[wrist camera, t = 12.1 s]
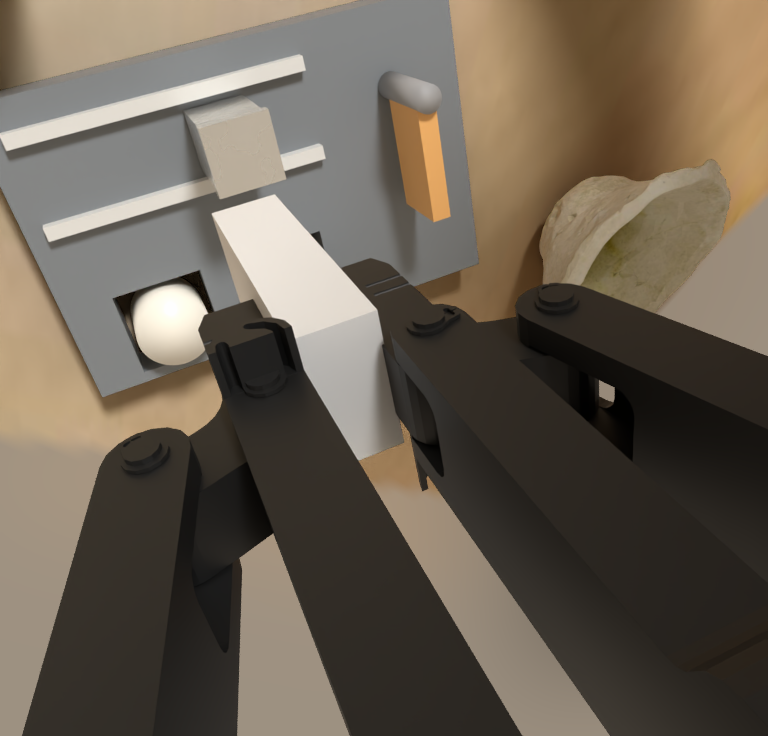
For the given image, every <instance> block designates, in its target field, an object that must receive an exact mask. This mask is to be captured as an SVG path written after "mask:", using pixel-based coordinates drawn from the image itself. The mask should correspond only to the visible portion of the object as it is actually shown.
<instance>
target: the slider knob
mask: <svg viewBox="0 0 768 736" xmlns="http://www.w3.org/2000/svg"><path fill="white" fill-rule="evenodd" d="M183 112H184V115H185V119H186V122H187V125H188V128H189V131H190V134H191V137H192V140H193V143H194V146H195V150H196V153H197V156H198V159H199V162H200V165H201V168H202V171H203V172H204V173H205V175H206V176H207V178H208V179H209V180H210V182H211V183H212V184H213V186H214V187H215V189H216V193H217V196H218V197H219V199H223V198H226V197H230V196H233V195H236V194H240V193H243V192H246V191H249V190H253V189H256V188H259V187H263V186H266V185H269V184H272V183H276V182H279V181H282V180H286V175H285V171H284V168H283V164H282V160H281V156H280V152H279V148H278V144H277V140H276V137H275V133H274V129H273V125H272V121H271V117H270V113H269V110H268V109H267V108H266V107H263V108H260V107H259V106H257V105H256V104H255V103H253V102H252V101H250V100H249V99H247V98H246V97H245V96H243V95H238V96H235V97H231V98H227V99H224V100H220V101H216V102H213V103H209V104H205V105H201V106H198V107H194V108H190V109H187V110H183Z"/></svg>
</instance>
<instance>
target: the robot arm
mask: <svg viewBox="0 0 768 736" xmlns="http://www.w3.org/2000/svg"><path fill="white" fill-rule="evenodd" d="M211 214H212V217H213V220H214V223H215V226H216V229H217V232H218V235H219V238H220V241H221V245H222V248H223V251H224V254H225V257H226V260H227V263H228V266H229V269H230V272H231V276H232V279H233V282H234V285H235V288H236V291H237V294H238V297H239V300H240V303H239V304H236V305H233V306H230V307H227V308H224V309H221V310H218V311H215V312H212V313H209V314H206V315H204V317H203V319H202V321H201V324H200V326H199V329H198V331H199V334H200V337H201V340H202V342H203V345H204V348H205V350H206V353H207V356H208V359H209V361H210V364H211V367H212V369H213V372H214V375H215V378H216V380H217V383H218V386H219V388H220V391H221V394H222V400H223V401H222V404H221V408H220V409H219V411H218V413H217V414H216V416H215V417H214V418H213V419H212V420H211V421H210V422H209V423H208V424H207V425H205V426H204V427H203V428H201V429H200V430H198V431H197V432H195V433H194V434H192V435H190V436H189V437H188V436H187V435H186V434H185V433H183V432H182V431H181V430H177V429H172V428H157V429H150V430H147V431H144V432H141V433H137V434H135V435H133V436H131V437H130V438H127V439H126V440H124V441H123V442H121V443H119V444H118V445H117V446H116V447H115V448H114V449H112V450H111V451H110V452H109V453H108V454H107V455H106V457H105V458H104V460H103V462H102V464H101V466H100V468H99V471H98V474H97V478H96V481H95V485H94V488H93V492H92V495H91V499H90V502H89V506H88V509H87V513H86V516H85V520H84V523H83V526H82V530H81V534H80V537H79V540H78V544H77V547H76V551H75V554H74V558H73V561H72V565H71V568H70V572H69V575H68V578H67V582H66V585H65V589H64V592H63V596H62V600H61V603H60V606H59V610H58V613H57V617H56V620H55V624H54V627H53V630H52V634H51V637H50V641H49V644H48V648H47V651H46V655H45V658H44V661H43V665H42V668H41V672H40V675H39V679H38V682H37V686H36V689H35V693H34V696H33V699H32V703H31V706H30V710H29V714H28V717H27V720H26V724H25V727H24V731H23V734H22V736H237V717H238V685H239V684H238V683H239V652H240V650H239V649H240V617H241V586H242V568H241V564H240V559H239V558H240V557H241V556H243V555H244V554H245V553H247V552H248V551H249V550H251V549H252V548H254V547H255V546H256V545H258V544H259V543H260V542H262V541H263V540H264V539H266V538H267V537H269V536H270V535H271V534H274V536H275V539H276V542H277V544H278V547H279V549H280V552H281V555H282V557H283V560H284V563H285V565H286V568H287V571H288V573H289V576H290V579H291V581H292V584H293V587H294V589H295V592H296V595H297V597H298V600H299V603H300V605H301V608H302V610H303V613H304V616H305V618H306V621H307V624H308V626H309V629H310V631H311V634H312V637H313V639H314V642H315V645H316V648H317V650H318V653H319V655H320V658H321V661H322V664H323V666H324V669H325V671H326V674H327V677H328V679H329V682H330V685H331V687H332V690H333V693H334V695H335V698H336V701H337V703H338V706H339V709H340V711H341V714H342V716H343V719H344V722H345V724H346V727H347V730H348V732H349V735H350V736H522V735H521V733H520V731H519V730H518V728H517V726H516V725H515V723H514V721H513V720H512V718H511V716H510V715H509V713H508V711H507V710H506V708H505V706H504V705H503V703H502V701H501V699H500V698H499V696H498V695H497V693H496V691H495V689H494V688H493V686H492V684H491V683H490V681H489V679H488V678H487V676H486V674H485V673H484V671H483V669H482V668H481V666H480V664H479V663H478V661H477V659H476V658H475V656H474V654H473V653H472V651H471V649H470V647H469V646H468V644H467V642H466V641H465V639H464V637H463V636H462V634H461V632H460V631H459V629H458V627H457V626H456V624H455V622H454V621H453V619H452V617H451V616H450V614H449V612H448V611H447V609H446V607H445V606H444V604H443V602H442V600H441V599H440V597H439V596H438V594H437V592H436V590H435V589H434V587H433V585H432V584H431V582H430V580H429V579H428V577H427V575H426V574H425V572H424V570H423V569H422V567H421V565H420V564H419V562H418V560H417V559H416V557H415V555H414V554H413V552H412V550H411V549H410V547H409V545H408V543H407V542H406V540H405V538H404V537H403V535H402V533H401V532H400V530H399V528H398V527H397V525H396V523H395V522H394V520H393V518H392V517H391V515H390V513H389V512H388V510H387V508H386V506H385V505H384V503H383V501H382V500H381V498H380V496H379V495H378V493H377V491H376V490H375V488H374V486H373V485H372V483H371V481H370V480H369V478H368V476H367V475H366V473H365V471H364V470H363V468H362V466H361V465H360V463H359V460H361V459H364V458H366V457H369V456H371V455H374V454H377V453H379V452H382V451H384V450H387V449H389V448H392V447H394V446H397V445H399V444H402V443H404V439H403V434H402V429H401V424H400V420H401V421H402V423H403V424H404V425H405V427H406V428H407V429H408V431H409V432H410V436H411V442H412V447H413V452H414V457H415V462H416V467H417V472H418V477H419V482H420V485H421V488H422V491H424V490H427V489H428V485H427V480H426V478H427V476H429V478H430V479H431V481H432V482H433V483H434V485H435V486H436V488H437V489H438V491H439V492H440V493H441V495H442V496H443V498H444V499H445V501H446V502H447V503H448V505H449V506H450V508H451V509H452V510H453V512H454V513H455V515H456V516H457V518H458V519H459V521H460V522H461V523H462V525H463V526H464V528H465V529H466V531H467V532H468V533H469V535H470V536H471V538H472V539H473V541H474V542H475V543H476V545H477V546H478V548H479V549H480V550H481V552H482V553H483V555H484V556H485V558H486V559H487V561H488V562H489V563H490V565H491V566H492V568H493V569H494V571H495V572H496V573H497V575H498V576H499V578H500V579H501V581H502V582H503V583H504V585H505V586H506V588H507V589H508V591H509V592H510V593H511V595H512V596H513V598H514V599H515V601H516V602H517V603H518V605H519V606H520V608H521V609H522V611H523V612H524V613H525V615H526V616H527V618H528V619H529V621H530V622H531V623H532V625H533V626H534V628H535V629H536V631H537V632H538V633H539V635H540V636H541V638H542V639H543V640H544V642H545V643H546V645H547V646H548V648H549V649H550V651H551V652H552V653H553V655H554V656H555V658H556V659H557V661H558V662H559V663H560V665H561V666H562V668H563V669H564V671H565V672H566V673H567V675H568V676H569V678H570V679H571V681H572V682H573V683H574V685H575V686H576V688H577V689H578V691H579V692H580V693H581V695H582V696H583V698H584V699H585V701H586V702H587V703H588V705H589V706H590V708H591V709H592V711H593V712H594V713H595V715H596V716H597V718H598V719H599V721H600V722H601V723H602V725H603V726H604V728H605V729H606V730H607V732H608V733H609V735H610V736H768V356H766V355H763V354H760V353H758V352H755V351H752V350H750V349H747V348H745V347H742V346H739V345H737V344H734V343H731V342H729V341H726V340H723V339H721V338H718V337H716V336H713V335H710V334H708V333H705V332H702V331H700V330H697V329H695V328H692V327H689V326H687V325H684V324H681V323H679V322H676V321H673V320H671V319H668V318H666V317H663V316H660V315H658V314H655V313H652V312H650V311H647V310H644V309H642V308H639V307H637V306H634V305H631V304H629V303H626V302H623V301H621V300H618V299H615V298H613V297H610V296H608V295H605V294H602V293H600V292H597V291H594V290H592V289H589V288H586V287H583V286H579V285H575V284H570V283H549V284H544V285H540V286H538V287H535V288H533V289H530V290H528V291H526V292H525V293H524V294H522V295H521V296H520V297H519V298H518V300H517V302H516V305H515V308H516V317H514V318H508V319H502V320H496V321H489V322H476V321H475V320H474V319H473V318H471V317H470V316H469V315H468V314H467V313H466V312H465V311H463V310H461V309H459V308H457V307H455V306H450V305H444V304H435V305H432V304H431V303H430V302H429V301H428V300H427V299H426V298H425V297H424V296H423V295H422V294H421V293H420V292H419V291H418V290H417V289H415V288H414V287H413V286H412V285H411V284H409V282H408V281H407V280H406V279H405V278H404V277H403V276H400V273H399V272H398V271H396V270H395V269H394V268H393V267H392V266H391V265H390V264H389V263H385V262H382V261H379V260H376V259H373V258H369V259H366V260H363V261H360V262H357V263H354V264H351V265H348V266H345V267H342V268H340V267H339V266H338V265H337V264H336V263H335V262H334V261H333V259H332V258H331V257H330V256H329V255H328V254H327V253H326V252H325V250H324V249H323V248H322V247H321V246H320V245H319V244H318V243H317V241H316V240H315V239H314V238H313V237H312V236H311V235H310V234H309V232H308V231H307V230H306V229H305V228H304V227H303V226H302V225H301V223H300V222H299V221H298V220H297V219H296V218H295V217H294V216H293V214H292V213H291V212H290V211H289V210H288V209H287V208H286V207H285V205H284V204H283V203H282V202H281V201H280V200H279V199H278V198H277V196H276V195H275V194H274V195H271V196H268V197H264V198H261V199H258V200H254V201H251V202H248V203H244V204H241V205H238V206H234V207H231V208H228V209H224V210H221V211H218V212H214V213H211ZM599 380H600V381H602V382H604V383H607V384H609V385H611V386H613V387H615V399H614V402H611V401H607V400H605V399H603V398H601V397H599Z"/></svg>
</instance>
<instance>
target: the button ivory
mask: <svg viewBox="0 0 768 736" xmlns="http://www.w3.org/2000/svg"><path fill="white" fill-rule="evenodd" d="M130 312H131V317H132V321H133V326H134V330H135V334H136V339H137V342H138V345H139V347H140V349H141V350H142V352H143V353H144V354H145V355H146V356H147V357H149V358H150V359H151V360H153V361H155V362H157V363H160V364H164V365H181V364H185V363H188V362H190V361H192V360H194V359H196V358H197V357H199V356H200V355H201V354H202V353H203V352H204V351H205V348H204V345H203V342H202V340H201V337H200V334H199V331H198V329H199V326H200V324H201V321H202V319H203V317H204V315H206V314H208V313H207V310H206V308H205V306H204V304H203V301H202V299H201V297H200V295H199V293H198V291H197V290H196V288H195V287H194V286H193V285H192V284H191V283H189V282H188V281H186V280H184V279H182V278H179V277H176V278H173V279H170V280H167V281H164V282H161V283H158V284H155V285H152V286H149V287H146V288H143V289H139V290H137V291H136V292H135V294H134V295H133V298H132V301H131V306H130Z"/></svg>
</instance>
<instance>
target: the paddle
mask: <svg viewBox="0 0 768 736" xmlns="http://www.w3.org/2000/svg"><path fill="white" fill-rule="evenodd" d="M378 89H379V92H380V94H381V95H382V96H383V97H384V98H386V99H389V101H390V107H391V113H392V119H393V125H394V131H395V137H396V143H397V149H398V155H399V161H400V167H401V173H402V179H403V185H404V191H405V197H406V203H407V204H408V205H409V206H411V207H412V208H414V209H415V210H417V211H418V212H420V213H421V214H423V215H424V216H425V217H427V218H428V219H430V220H431V221H433V222H436V221H439V220H442V219H445V218H448V217H451V215H450V208H449V200H448V193H447V185H446V178H445V170H444V163H443V155H442V148H441V140H440V133H439V126H438V118H437V110H438V108H439V107H440V105H441V101H442V94H441V91H440V89H439V88H438V87H437V86H436V85H434V84H431V83H428V82H425V81H422V80H419V79H416V78H413V77H409V76H406V75H403V74H400V73H397V72H394V71H388V72H386V73H384V74H383V75H382V76H381V78H380V80H379V83H378Z"/></svg>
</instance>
